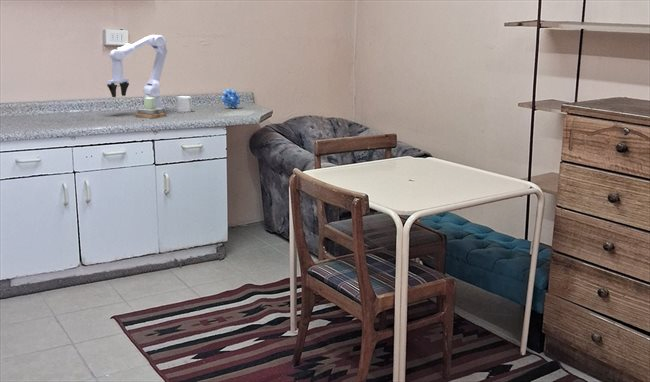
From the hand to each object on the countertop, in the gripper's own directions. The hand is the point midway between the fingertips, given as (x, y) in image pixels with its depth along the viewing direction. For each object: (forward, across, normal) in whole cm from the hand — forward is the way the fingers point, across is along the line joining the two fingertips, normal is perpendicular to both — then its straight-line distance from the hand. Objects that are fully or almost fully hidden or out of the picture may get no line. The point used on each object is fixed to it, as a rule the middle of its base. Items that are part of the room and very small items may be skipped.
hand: (118, 96), depth 404 cm
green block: (+6, -4, +19) cm, 20 cm away
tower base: (+11, -4, +19) cm, 22 cm away
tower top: (+9, -4, +19) cm, 21 cm away
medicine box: (+11, -32, +20) cm, 39 cm away
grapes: (+11, -57, +36) cm, 68 cm away
